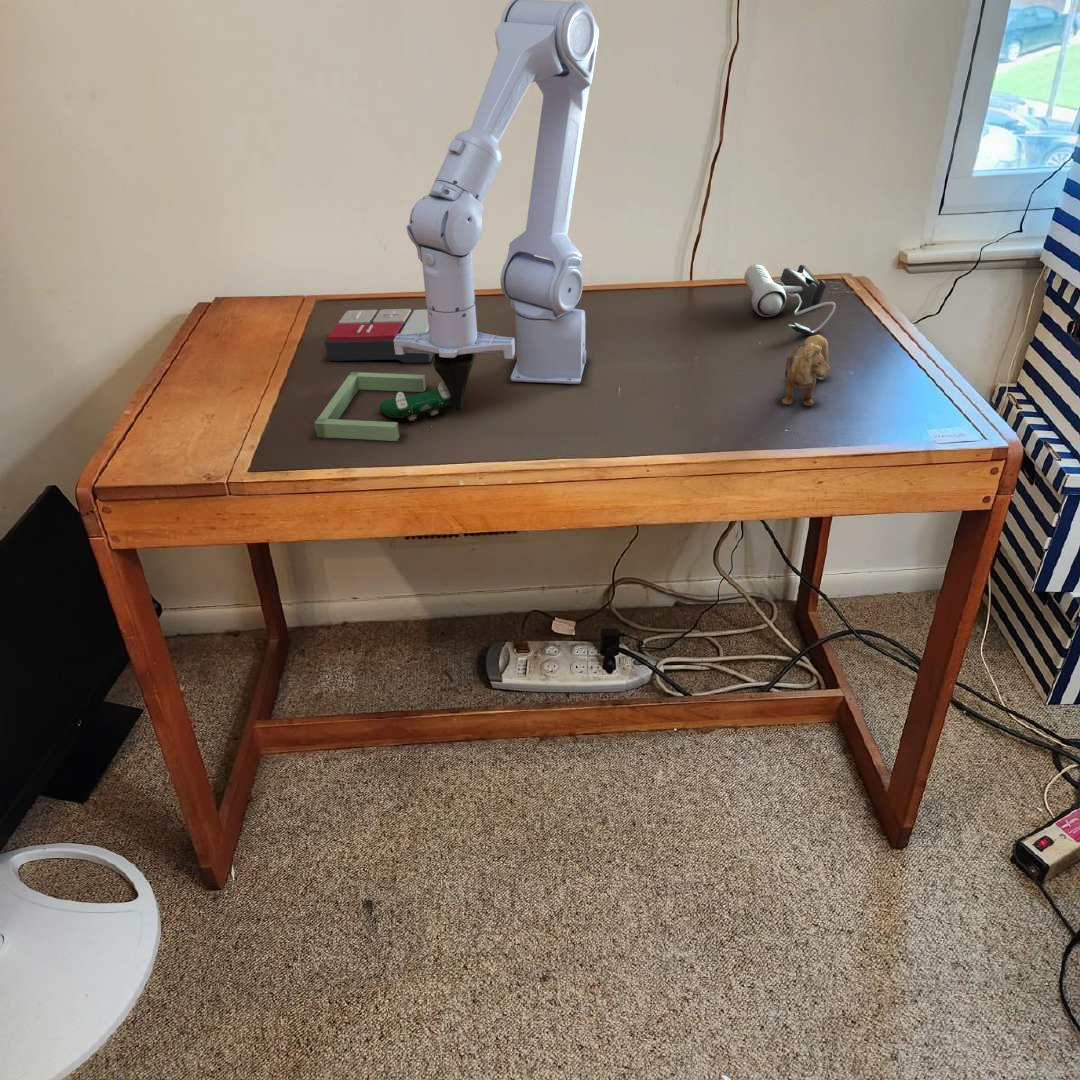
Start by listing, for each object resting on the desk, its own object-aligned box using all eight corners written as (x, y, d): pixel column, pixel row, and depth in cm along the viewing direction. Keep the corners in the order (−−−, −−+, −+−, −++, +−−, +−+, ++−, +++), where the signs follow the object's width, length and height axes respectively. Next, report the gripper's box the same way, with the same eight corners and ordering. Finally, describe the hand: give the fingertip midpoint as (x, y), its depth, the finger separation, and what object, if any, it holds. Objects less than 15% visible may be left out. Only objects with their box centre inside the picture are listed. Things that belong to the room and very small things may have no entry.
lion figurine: (821, 421, 110) (833, 353, 105) (777, 416, 112) (787, 349, 106) (827, 371, 122) (839, 307, 116) (787, 367, 123) (797, 304, 118)
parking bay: (426, 388, 120) (424, 374, 119) (397, 441, 109) (395, 426, 108) (353, 385, 122) (351, 371, 120) (317, 437, 110) (314, 422, 109)
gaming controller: (385, 432, 114) (392, 417, 109) (376, 405, 115) (382, 388, 109) (453, 416, 117) (462, 400, 112) (443, 389, 118) (453, 372, 112)
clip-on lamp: (841, 351, 134) (801, 284, 145) (857, 315, 129) (814, 249, 141) (767, 351, 132) (732, 283, 143) (780, 314, 127) (743, 247, 139)
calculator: (344, 307, 135) (441, 304, 133) (350, 334, 137) (445, 332, 135) (321, 337, 126) (425, 334, 124) (328, 365, 128) (430, 363, 126)
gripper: (381, 314, 103) (395, 419, 111) (505, 318, 101) (511, 425, 109) (397, 292, 108) (410, 393, 116) (515, 295, 107) (520, 398, 115)
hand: (459, 407), depth 113 cm, fingers closed
